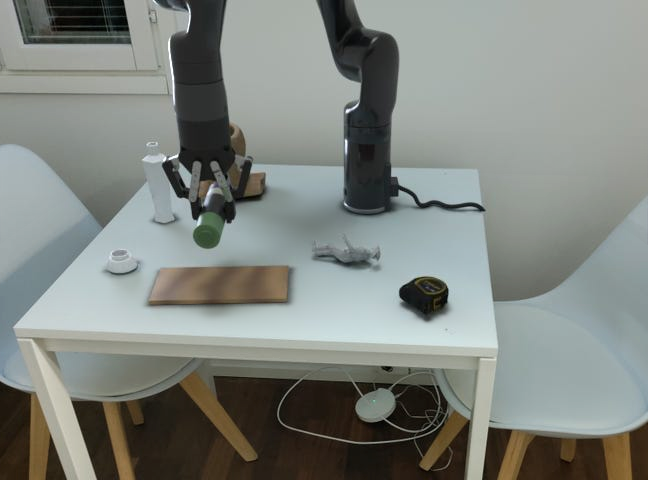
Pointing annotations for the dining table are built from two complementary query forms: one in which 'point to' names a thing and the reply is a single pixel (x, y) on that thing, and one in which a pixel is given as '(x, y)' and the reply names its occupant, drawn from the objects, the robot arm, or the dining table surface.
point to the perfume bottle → (158, 184)
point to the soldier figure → (347, 251)
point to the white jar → (121, 261)
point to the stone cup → (255, 179)
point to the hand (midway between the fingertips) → (214, 221)
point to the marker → (211, 219)
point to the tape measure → (425, 294)
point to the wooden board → (220, 285)
